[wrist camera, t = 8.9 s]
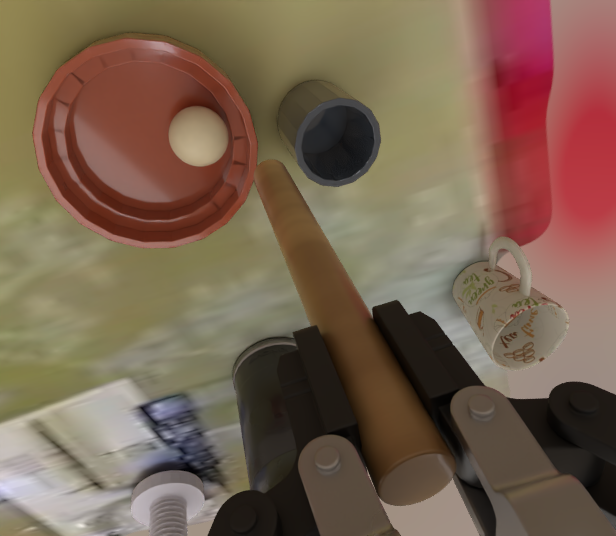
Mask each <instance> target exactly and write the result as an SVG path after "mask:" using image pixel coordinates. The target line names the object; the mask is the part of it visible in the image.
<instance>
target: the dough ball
mask: <svg viewBox="0 0 616 536" xmlns="http://www.w3.org/2000/svg"><path fill="white" fill-rule="evenodd" d="M168 134H169V142H170V145H171V148H172V150H173V151H174V153H175V154H176V155H177V157H179V158H180V159H181V160H182V161H183V162H185V163H187V164H189V165H193V166H208V165H211V164H213V163H215V162H216V161H218V160H219V159H220V158H221V157H222V156H223V154H224V153H225V151H226V148H227V145H228V131H227V127H226V125H225V123H224V121H223V120H222V118H221V117H220V116H219V115H218V114H217V113H216V112H214V111H213V110H211V109H209V108H206V107H202V106H191V107H187V108H185V109H183V110H181V111H180V112H178V113H177V114H176V115H175V117H174V118H173V120H172V121H171V124H170V127H169V133H168Z"/></svg>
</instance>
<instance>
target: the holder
mask: <svg viewBox="0 0 616 536" xmlns="http://www.w3.org/2000/svg"><path fill="white" fill-rule="evenodd" d="M277 126H278V131H279V134H280V137H281V140H282V141H283V143H284V144H285V146H286V147H287V149H288V150H289V152H290V153H291V155H292V156H293V158H294V159H295V161H296V162H297V164H298V165H299V167H300V168H301V169H302V171H303V172H304V173H305V175H306V176H307V177H308V178H309V179H311V180H313V181H314V182H316V183H318V184H320V185H323V186H333V187H339V186H342V185H346V184H349V183H352V182H354V181H356V180H357V179H358V178H360V177H361V176H362V175H364V174H365V173H366V172H367V171H368V170H369V168H370V167H371V165H372V164H373V162H374V161H375V159H376V157H377V154H378V150H379V147H380V143H381V137H380V128H379V123H378V121H377V120H376V118H375V116H374V114H373V113H372V111H371V110H370V109H369V108H368V107H366V106H365V105H363V104H362V103H360V102H359V101H357V100H356V99H354V98H353V97H352V96H350V95H349V94H347V93H346V92H344V91H343V90H341V89H340V88H338V87H337V86H335V85H334V84H332V83H329V82H326V81H322V80H311V81H307V82H304V83H301V84H299V85H297V86H296V87H295V88H293V89H292V90H291V91H290V92H289V93H288V94H287V95H286V97H285V98H284V100H283V101H282V103H281V105H280V108H279V112H278V118H277Z"/></svg>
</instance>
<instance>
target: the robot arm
mask: <svg viewBox="0 0 616 536" xmlns="http://www.w3.org/2000/svg"><path fill="white" fill-rule="evenodd" d="M372 312H373V319H374V321H375V322H376V324H377V326H378V328H379V329H380V331H381V333H382V334H383V336H384V338H385V340H386V341H387V343H388V345H389V347H390V348H391V350H392V352H393V353H394V355H395V357H396V359H397V360H398V362H399V364H400V365H401V367H402V369H403V371H404V372H405V374H406V376H407V377H408V379H409V381H410V383H411V384H412V386H413V388H414V389H415V391H416V393H417V395H418V396H419V398H420V400H421V402H422V403H423V405H424V407H425V408H426V410H427V412H428V414H429V415H430V417H431V419H432V420H433V421H434V423H435V424H436V426H437V428H438V430H439V431H440V433H441V435H442V436H443V438H444V440H445V442H446V443H447V445H448V447H449V448H450V450H451V452H452V454H453V455H454V457H455V459H456V465H457V467H456V472H455V475H454V477H453V480H454V482H455V485H456V487H457V489H458V491H459V493H460V495H461V497H462V499H463V501H464V503H465V506H466V508H467V510H468V512H469V514H470V516H471V518H472V520H473V522H474V524H475V527H476V528H477V531H478V533H479V535H480V536H616V395H615V394H612V393H610V392H608V391H605V390H603V389H601V388H598V387H596V386H594V385H591V384H588V383H583V382H566V383H562V384H560V385H558V386H556V387H555V388H554V389H553V390H552V391H551V393H550V395H549V398H543V399H513V398H508V397H505V396H504V395H503V394H502V393H500V392H499V391H497V390H495V389H492V388H489V387H486V386H485V385H484V384H483V383H482V382H481V380H480V379H479V378H478V376H477V375H476V374H475V372H474V371H473V370H472V368H471V367H470V366H469V364H468V363H467V362H466V360H465V359H464V358H463V356H462V355H461V354H460V353H459V351H458V350H457V349H456V347H455V346H454V345H453V344H452V342H451V341H450V339H449V338H448V337H447V335H445V333H444V331H443V330H442V329H441V327H440V326H439V325H438V323H437V322H436V321H435V320H434V319H432V318H431V317H429V316H427V315H425V314H424V313H422V312H420V311H419V312H416V313H413V314H410V315H408V313H407V312H406V311H405V309H404V308H403V306H402V305H401V303H400V302H399V301H398V300H395V301H391V302H388V303H385V304H382V305H378V306H375V307H373V308H372ZM293 336H294V339H289V338H273V339H268V340H264V341H262V342H259V343H257V344H255V345H253V346H251V347H250V348H248V349H247V350H246V351H245V352H244V353H243V354H242V355H241V356H240V357H239V358H238V360H237V361H236V363H235V365H234V368H233V374H232V377H233V384H234V388H235V391H236V397H237V405H238V412H239V418H240V425H241V431H242V438H243V444H244V451H245V457H246V464H247V470H248V477H249V483H250V490H248V491H243V492H240V493H237V494H235V495H234V496H232V497H231V498H229V499H228V500H227V501H226V502H225V503H224V504H223V505H222V506H221V508H220V509H219V511H218V513H217V515H216V517H215V519H214V522H213V524H212V527H211V529H210V531H209V534H208V536H401V535H400V534H399V532H398V531H397V530H395V529H394V528H393V526H392V524H391V523H390V521H389V519H388V516H387V515H386V512H385V510H384V508H383V506H382V504H381V502H380V500H379V497H378V495H377V493H376V491H375V489H374V487H373V485H372V483H371V480H370V478H369V476H368V473H367V468H366V464H365V462H364V459H363V457H362V454H361V447H362V444H361V439H360V434H359V429H358V424H357V421H356V418H355V416H354V414H353V411H352V409H351V406H350V404H349V401H348V399H347V397H346V394H345V392H344V389H343V387H342V385H341V382H340V380H339V377H338V375H337V372H336V370H335V368H334V365H333V363H332V360H331V358H330V355H329V353H328V351H327V348H326V346H325V343H324V341H323V339H322V336H321V334H320V331H319V329H318V327H317V325H314V326H311V327H308V328H304V329H301V330H298V331H295V332H293Z"/></svg>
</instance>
